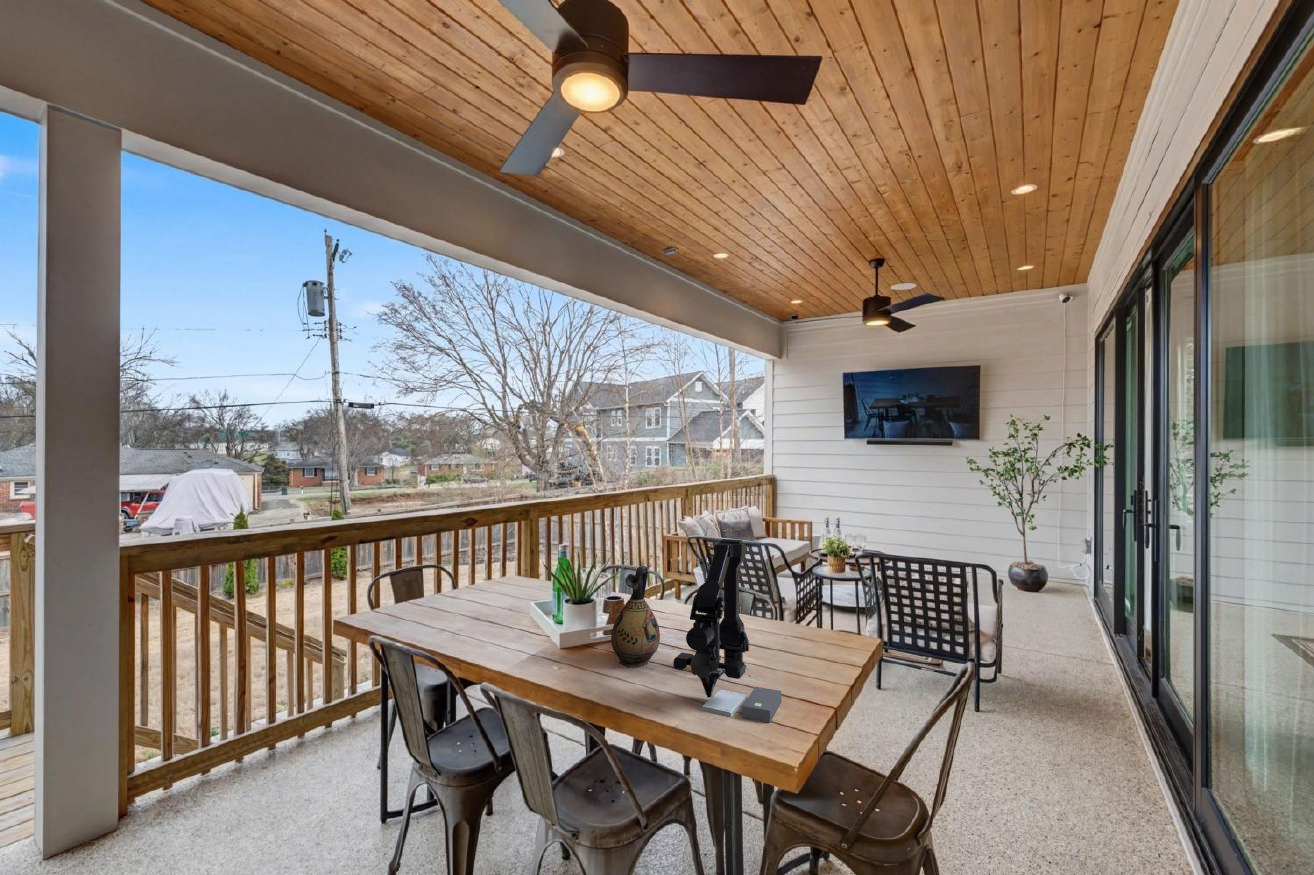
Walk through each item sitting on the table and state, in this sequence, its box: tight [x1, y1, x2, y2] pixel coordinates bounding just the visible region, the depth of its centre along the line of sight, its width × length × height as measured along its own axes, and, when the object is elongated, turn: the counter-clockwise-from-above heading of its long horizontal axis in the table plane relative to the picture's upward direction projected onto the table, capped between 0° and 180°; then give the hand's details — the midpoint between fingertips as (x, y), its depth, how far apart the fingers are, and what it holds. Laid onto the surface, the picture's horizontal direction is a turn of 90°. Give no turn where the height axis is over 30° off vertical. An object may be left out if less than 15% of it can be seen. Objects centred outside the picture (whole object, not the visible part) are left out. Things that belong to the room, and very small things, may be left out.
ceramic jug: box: [610, 565, 661, 668], centre depth 188 cm, size 17×15×30 cm
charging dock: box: [741, 686, 782, 724], centre depth 153 cm, size 13×8×3 cm, turn 156°
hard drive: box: [700, 689, 748, 718], centre depth 156 cm, size 2×8×12 cm
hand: (709, 697), depth 159 cm, fingers closed
